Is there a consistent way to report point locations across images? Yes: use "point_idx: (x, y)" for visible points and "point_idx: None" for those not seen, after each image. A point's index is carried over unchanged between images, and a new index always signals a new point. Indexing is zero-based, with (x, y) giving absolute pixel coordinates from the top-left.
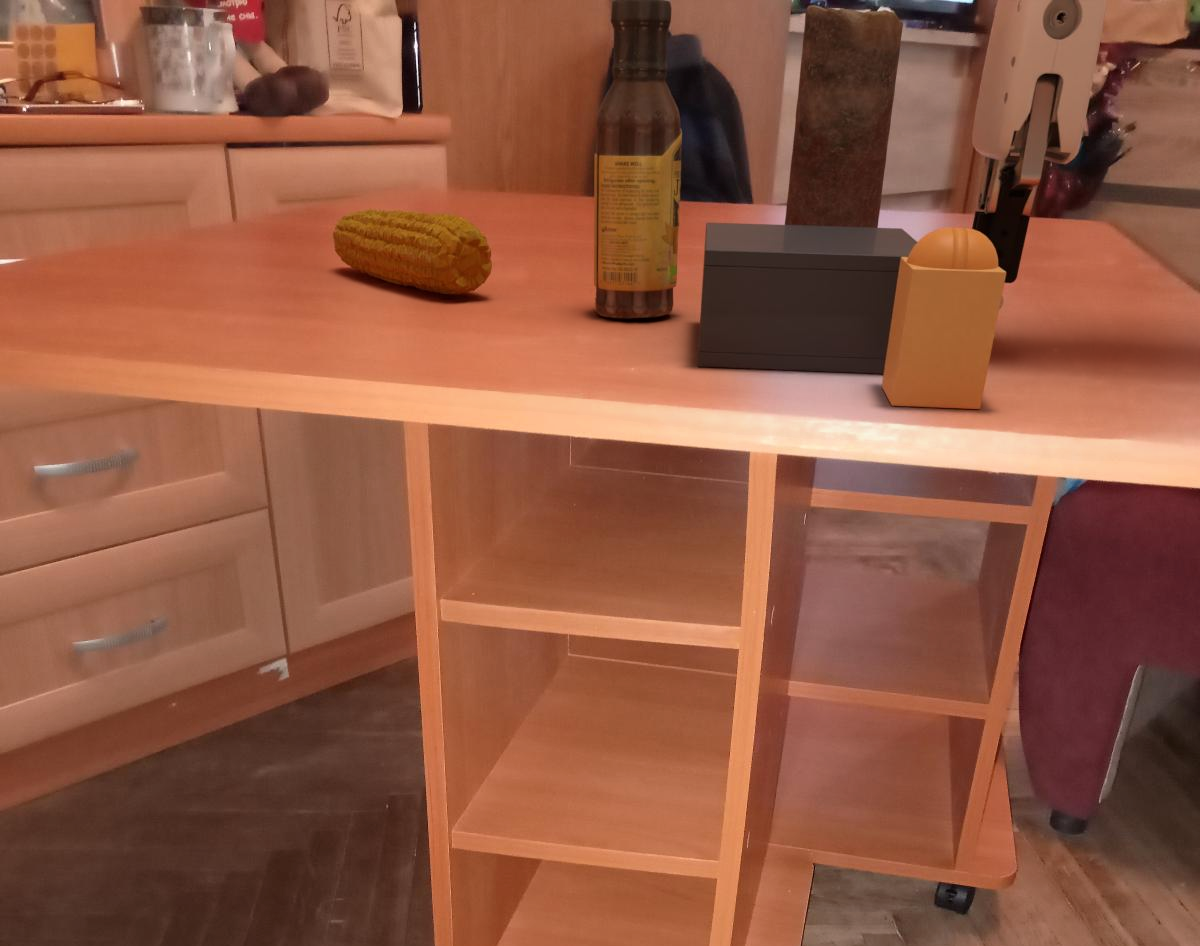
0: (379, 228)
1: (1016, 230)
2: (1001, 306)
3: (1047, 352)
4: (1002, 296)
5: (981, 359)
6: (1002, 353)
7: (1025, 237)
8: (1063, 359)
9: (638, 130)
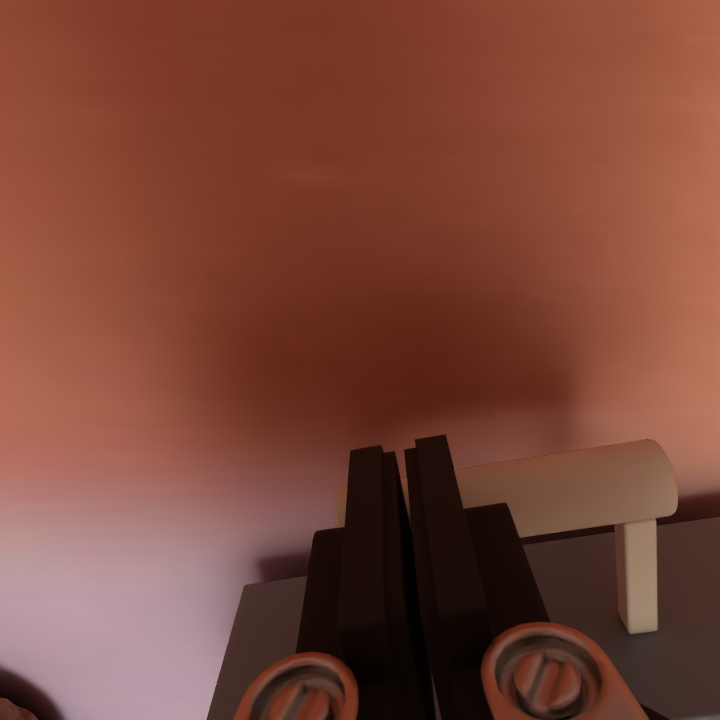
0: None
1: (542, 605)
2: (653, 441)
3: (354, 202)
4: (667, 461)
5: None
6: (419, 333)
7: (466, 531)
8: (449, 155)
9: None
